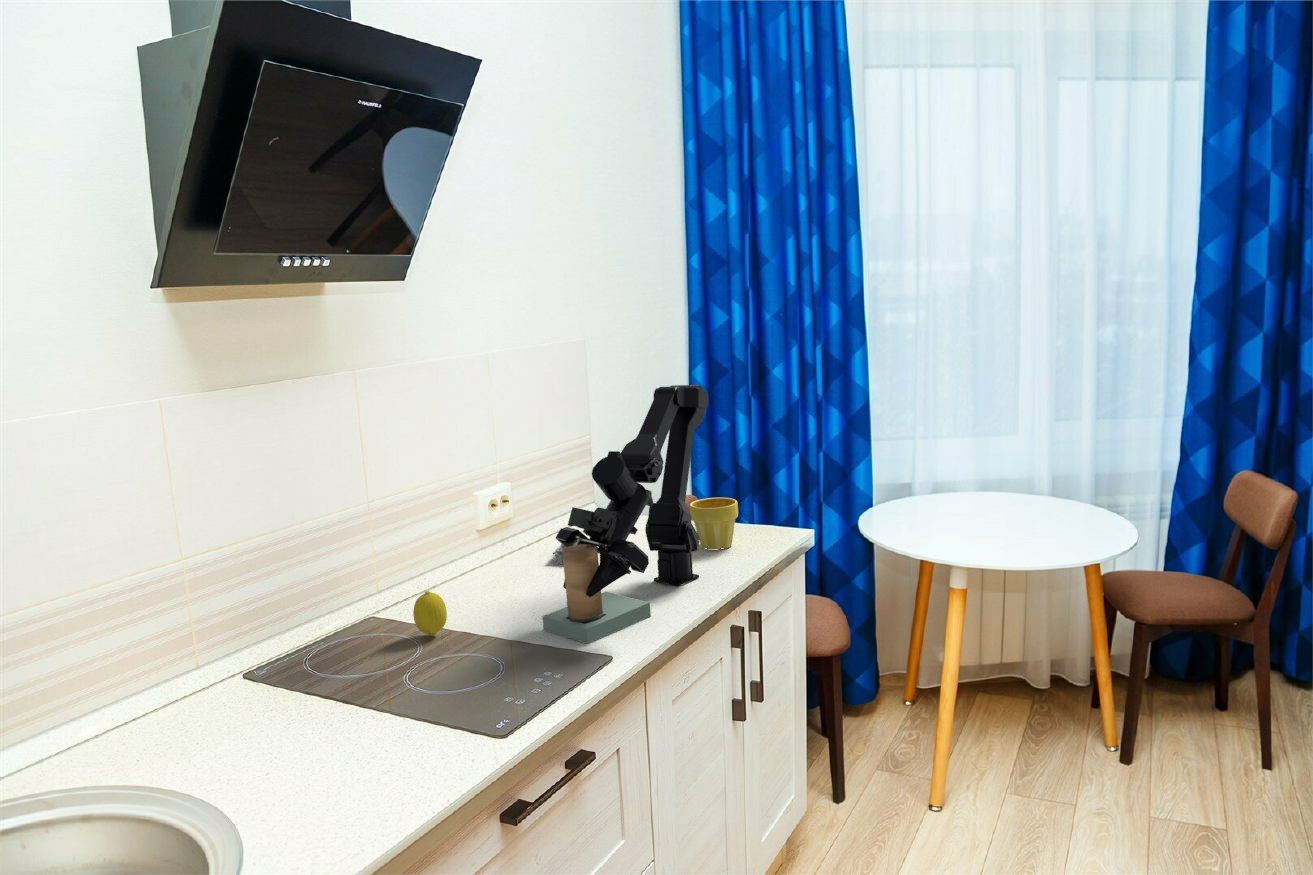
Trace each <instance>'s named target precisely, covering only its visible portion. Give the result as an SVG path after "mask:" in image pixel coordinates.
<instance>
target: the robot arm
mask: <svg viewBox="0 0 1313 875" xmlns="http://www.w3.org/2000/svg"><path fill="white" fill-rule="evenodd" d="M708 393H709V392H708V391H707V390H706V389H704V388H703V386H702V385H701V384H678V385H677V384H675V385H673V384H672V385H670V386H659V387H657V388H655V389H654V391H653V399H652V402H651V405H650V407H649V409H648V411H647V413H646V416H645V418H644V421H643V422H642V425H641V427H640V430H639V431H638V434H637V436H636V437H635V438H634V439H633V440H631V441H629V442H628V443H626V444H625V445H624V447H623V448H622V450H621V451H619V450H616V451H613V450H612V451H611V450H609V451H608V452H607V456H605V457H603V458H602V459H600V460H598V461H597V463H596V464H595V465H594V466H593V467H592V469H591V477H592V479H593V481H594V483H595V484H596V486H598V488H599V489H600V490H601V491H602V493H603V495H604V496H605V497H606V498H607V499H608V500H609V502H608V504H607V506H606V508H604V507H599V506H597V507H596V508H595V510H594V511H593V510H592V511H591V510H588V509H583V508H578V507H573V506H572V507H571V511H570V515H569V519H568V522H567V526H569V527H567V526H565V527H561V528H560V529H559V531H558V533H557V535H556V536H555V540H556V541H558V542H559V543H560V545H561V544H563V545H564V546H565V547H569V546H573V545H579V544H591V545H595V546H597V551H598V554H599V567H598V569H597V571H596V573H595V575H594V577H593V579H592V580H591V582H590V584H589V587H588V589H587V592H586V595H587V596H588V597H592V596H593V595H595V594H596V593H598V592H599V591H601V592H602V590H604V589H605V588H606V587H608V586H609V585H610V584H612V583H614V582H616V581H617V580H619V579H620V578H622V577H623V576H626V575H630V574H631V573H632V571H635V572H638V573H642V574H644V573H645V571H646V569H647V568H648V566H649V564H650V561H649V555H648V554H647V553H646V552H644V551H643V550H642V549H641V548H640V547H639V546H638V545H637V544H635V542H634V541H630V540H628V538H629V535H636V533H637V532H638V531H639V530H638V528H637V527H636V526H635V525H636V523H637V522H638V520H639V519H640V516H641V515H642V513H643V511H644V509H645V508H646V506H647V507H648V516H647V521H646V524H645V528H644V529H645V537H646V540H647V544H648V547H649V551H651V552H653V551H655V552H657V558H658V559H657V561H656V562H657V573H658V575H657V576H656V577H653V582H657V583H662V584H665V585H670V586H674V587H680V586H683V585H685V584H687V583H689V582H692V581H694V580H696V579H699V578H700V575H699V574H696V573H694V572H693V571H694V570H693V557H692V553H693V552H697V551H699V548H700V547H699V545H700V540H699V535H698V533H697V530H696V527H694V525H693V523H692V522H693V521H692V516H691V514H690V508H689V506H688V505H687V503H686V499H687V498H686V497H687V490H688V481H689V474H690V467H691V466H690V465H691V458H692V457H691V456H692V451H693V449H692V448H693V443H694V433H695V430H697V428H698V426H700V424H701V423H702V422H703V421H704V419H705V414H706V410H707V407H708V406H709V394H708ZM667 437H668V440H667V446H666V454H665V460H664V459H663V457H662V449H663V446H664V444H665V442H666V439H667ZM662 473H663V477H662V482H661V483H662V485H661V491H660V497H659V498H658V499H657V501H655V502H654V498H653V497H652V496H653V495H652V492H653V491H652V490H650V489H646V488H645V486H643V485H642V484H655V483H656V482H657V481H658V480H659V478H660V477H661V475H662ZM572 527H576V528H572ZM577 528H579V529H577ZM580 529H582V531H581V530H580ZM587 536H588V537H589V538H588V537H587ZM562 588H563V589H564V590H566V585H565V579H564V581H563V586H562Z"/></svg>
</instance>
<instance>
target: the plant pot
mask: <svg viewBox="0 0 1313 875" xmlns="http://www.w3.org/2000/svg"><path fill="white" fill-rule="evenodd" d="M689 511H690V514H691V516H692V521H691V522H693V524H694V526H695V527H694V528H695V530H696V531H697V533H698V535H699V545H700V547H701V549H703V548H707V549H721V548H727V549H729V548H728V547H730V546H731V545H733V538H734V537H733V536H734V532H735V524H736V519H737V518H738V516H739V504H738V501H737V500H736V499H734V498H730V497H709V498H707V497H706V498H702V499H697V500H693V501H692V502H690V503H689ZM731 547H732V546H731ZM731 547H730V548H731Z"/></svg>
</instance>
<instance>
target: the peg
mask: <svg viewBox="0 0 1313 875" xmlns="http://www.w3.org/2000/svg"><path fill="white" fill-rule="evenodd" d="M597 547H598V546H595V545H591V544H579V545H573V546H569V547H566V548H564V549H563V550H562V553H563V564H562V565H563V572H564V580H565V585H566V589H565V593H566V604H567V606H566V607H568V619H569V620H570V621H572V622H577V623H583V624H586V623H589V622H592V621H596V620H598V619H600V618H602V617H603V608H602V597H601V593H602V590H601V591H599V592H598V593H596V594H595V595H593V596H592V597H588V596H587V595H586V592H587V589H588V587H589V584H590V582H591V580H592V579H593V577H594V575H595V573H596V571H597V569H598V567H599V565H600V562H599V555H598V554H599V553H598V551H597Z"/></svg>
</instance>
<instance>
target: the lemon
mask: <svg viewBox="0 0 1313 875" xmlns="http://www.w3.org/2000/svg"><path fill="white" fill-rule="evenodd" d="M412 612H413V614H412V615H413V620H414V624H415V626H416V627H417V629H418V630H419V631H420V632H422V633H423V634H427V635H429V636H430V637H434V636H436V634H437V633H438V632H440V631H441V630H442V629H443V628H444V626H445V625H446V623H447V620H448V619H447V618H448V614H447V606H446V603H445V601H444V599H443V598H442V597H441V596H440V595H439V594H437V593H435V592H431V591H430V590H428V591H425V592H424V593H423V594H421V595H420V596H419V597H418V598H417V599H416V600H415V603H414V605H413V611H412Z"/></svg>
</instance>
